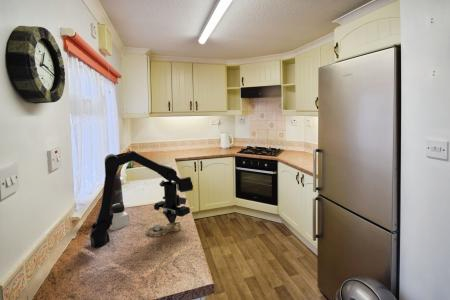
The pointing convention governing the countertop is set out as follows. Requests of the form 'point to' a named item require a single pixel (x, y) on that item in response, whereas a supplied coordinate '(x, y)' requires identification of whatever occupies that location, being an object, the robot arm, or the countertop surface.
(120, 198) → the wine bottle
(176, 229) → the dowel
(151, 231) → the ring with handle
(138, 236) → the countertop surface
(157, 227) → the grey shiny ball
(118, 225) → the printed carton box
